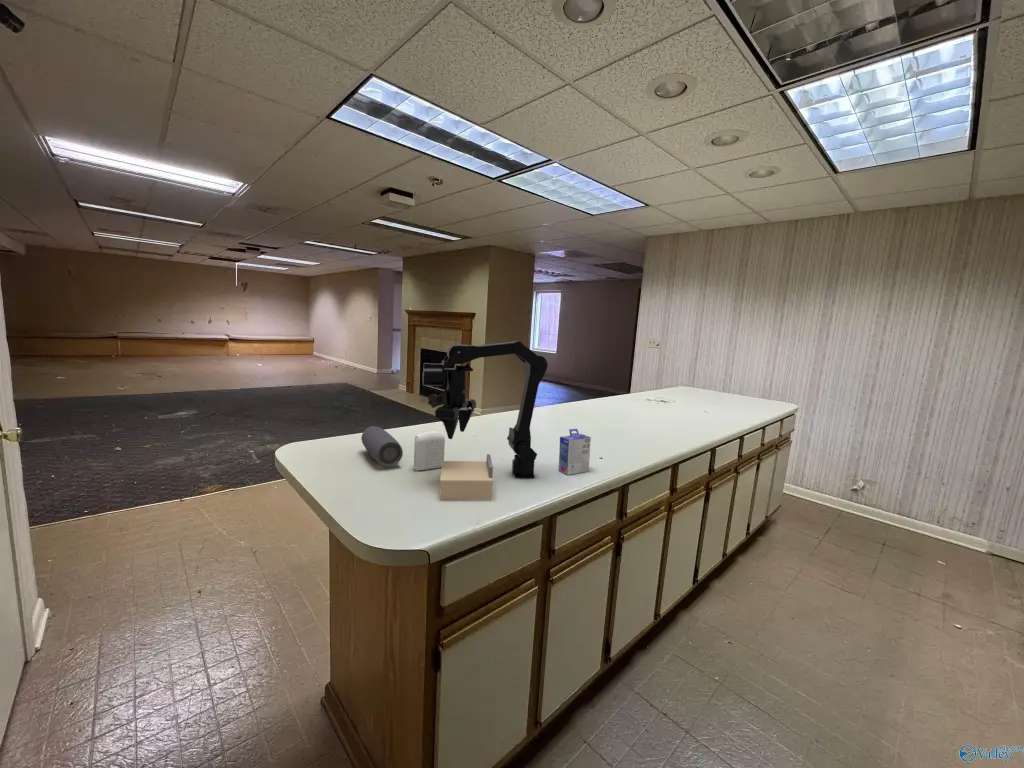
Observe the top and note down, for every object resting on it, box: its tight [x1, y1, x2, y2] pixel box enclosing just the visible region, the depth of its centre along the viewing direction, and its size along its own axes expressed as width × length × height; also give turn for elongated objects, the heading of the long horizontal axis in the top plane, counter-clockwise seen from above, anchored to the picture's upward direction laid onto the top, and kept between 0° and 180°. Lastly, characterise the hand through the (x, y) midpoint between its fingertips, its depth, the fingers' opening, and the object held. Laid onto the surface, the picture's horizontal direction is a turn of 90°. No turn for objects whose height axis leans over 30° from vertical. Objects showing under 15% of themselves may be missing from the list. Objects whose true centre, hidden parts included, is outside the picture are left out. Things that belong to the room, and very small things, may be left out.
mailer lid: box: [439, 453, 494, 484], centre depth 121 cm, size 14×16×4 cm
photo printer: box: [413, 430, 446, 471], centre depth 137 cm, size 10×4×12 cm, turn 123°
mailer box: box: [440, 482, 493, 501], centre depth 122 cm, size 14×16×5 cm
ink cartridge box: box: [558, 428, 592, 476], centre depth 141 cm, size 10×6×14 cm, turn 122°
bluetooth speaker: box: [360, 425, 404, 467], centre depth 143 cm, size 23×9×10 cm, turn 32°
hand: (456, 435), depth 129 cm, fingers open, 9 cm apart
